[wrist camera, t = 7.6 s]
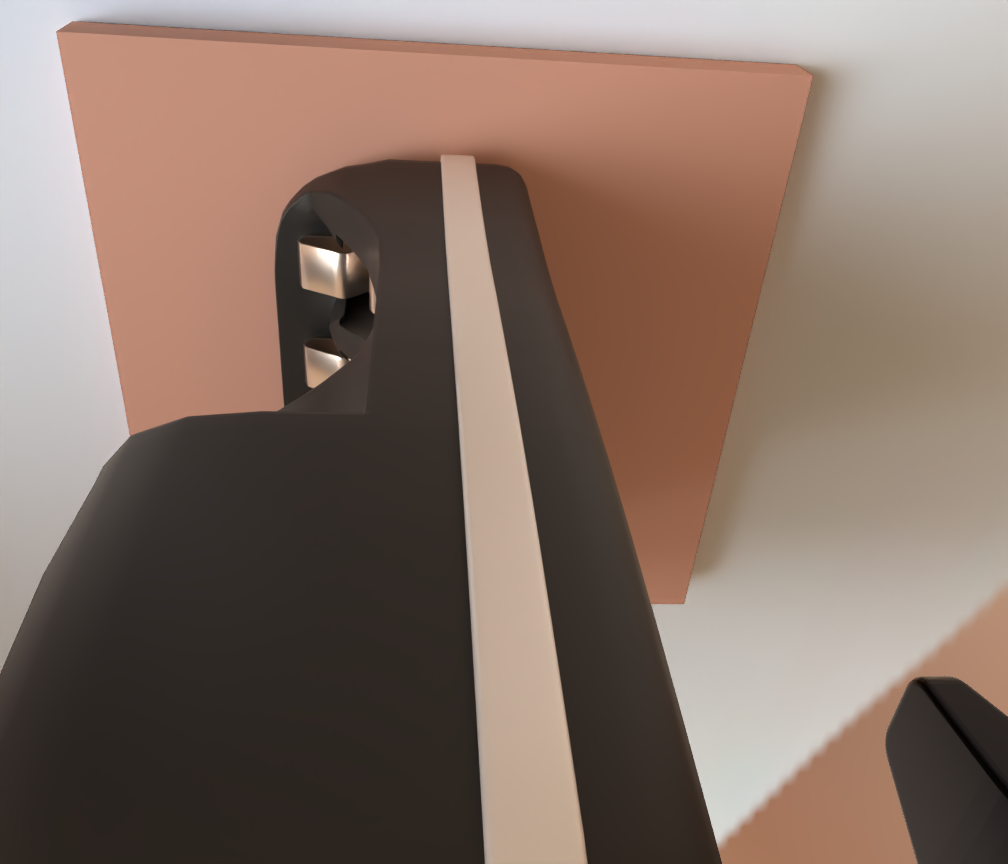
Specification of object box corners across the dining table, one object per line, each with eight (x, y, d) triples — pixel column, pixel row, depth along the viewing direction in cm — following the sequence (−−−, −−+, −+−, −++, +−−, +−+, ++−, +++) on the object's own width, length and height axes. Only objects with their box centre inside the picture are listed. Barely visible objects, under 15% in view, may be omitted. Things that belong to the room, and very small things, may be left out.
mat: (168, 579, 16) (160, 604, 16) (73, 21, 11) (56, 32, 11) (676, 580, 17) (684, 604, 17) (796, 64, 12) (812, 76, 12)
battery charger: (216, 122, 11) (-786, 1706, 2) (527, 136, 12) (976, 1515, 2) (260, 555, 15) (2, 1787, 6) (492, 556, 16) (605, 1713, 6)
